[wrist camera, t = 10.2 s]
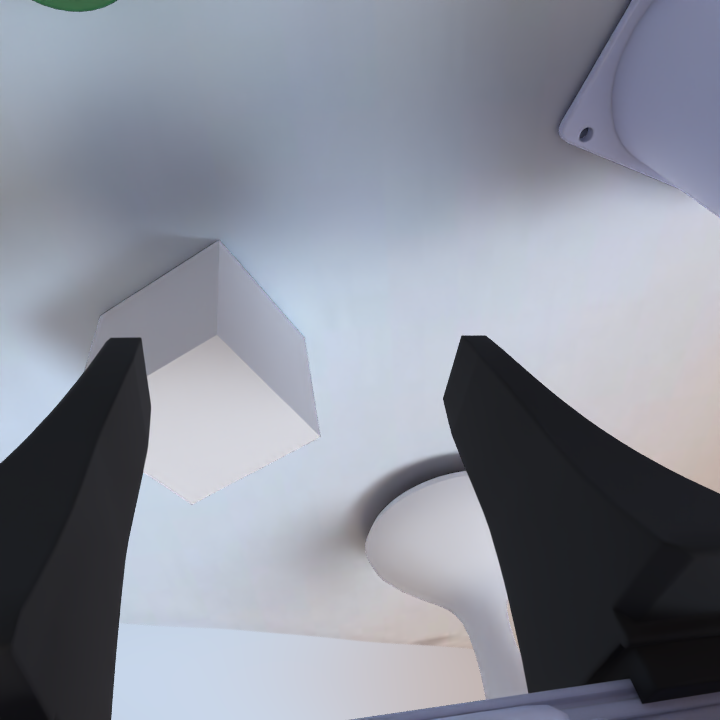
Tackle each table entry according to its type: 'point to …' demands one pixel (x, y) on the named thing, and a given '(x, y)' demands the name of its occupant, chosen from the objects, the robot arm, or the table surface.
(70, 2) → the bottle
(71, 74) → the table surface
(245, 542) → the table surface
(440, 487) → the flower in vase
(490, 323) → the table surface
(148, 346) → the white cube
